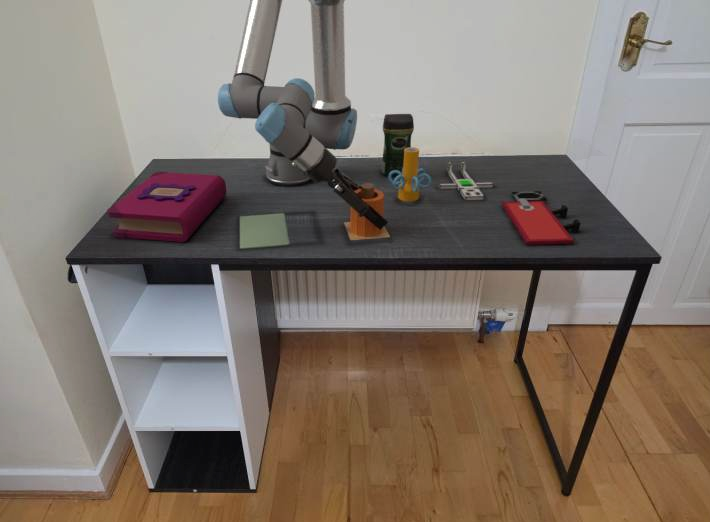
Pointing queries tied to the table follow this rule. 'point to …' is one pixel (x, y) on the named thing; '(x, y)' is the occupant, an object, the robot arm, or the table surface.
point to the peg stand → (366, 193)
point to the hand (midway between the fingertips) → (379, 217)
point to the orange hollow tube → (362, 224)
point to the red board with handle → (539, 219)
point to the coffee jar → (396, 141)
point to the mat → (263, 231)
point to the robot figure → (465, 184)
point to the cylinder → (409, 176)
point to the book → (167, 206)
